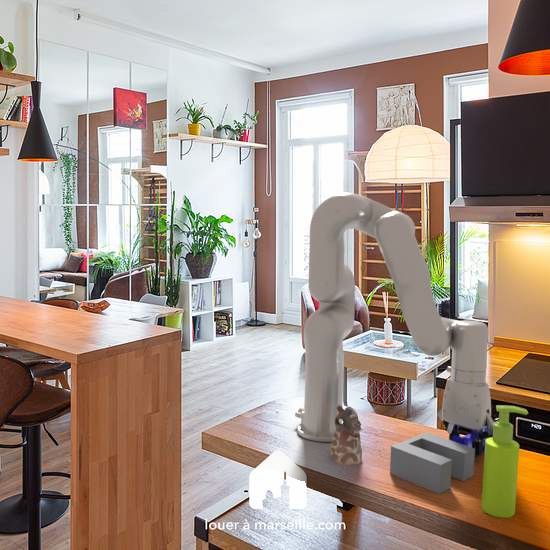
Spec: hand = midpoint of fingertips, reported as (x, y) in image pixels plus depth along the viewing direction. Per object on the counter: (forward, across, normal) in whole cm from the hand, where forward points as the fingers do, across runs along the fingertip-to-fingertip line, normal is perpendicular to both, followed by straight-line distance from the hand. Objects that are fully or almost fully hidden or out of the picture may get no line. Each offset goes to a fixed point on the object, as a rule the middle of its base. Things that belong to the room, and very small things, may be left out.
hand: (465, 452), depth 134 cm
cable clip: (+1, 0, 0) cm, 1 cm away
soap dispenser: (+1, +17, -17) cm, 25 cm away
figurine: (+1, -17, -22) cm, 28 cm away
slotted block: (+1, 0, -14) cm, 14 cm away
